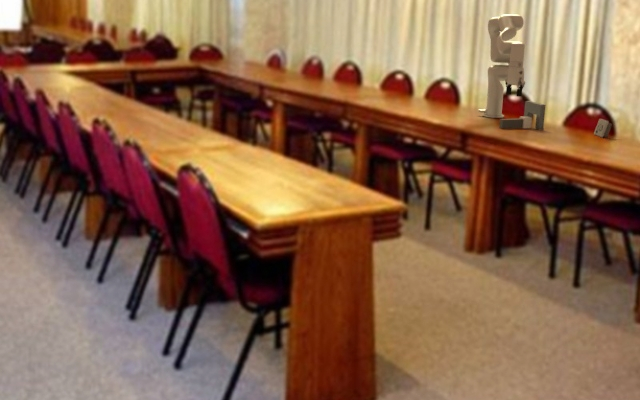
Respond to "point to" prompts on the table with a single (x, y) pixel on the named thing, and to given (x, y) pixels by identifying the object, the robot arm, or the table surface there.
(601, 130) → the electrical switch
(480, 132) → the table surface
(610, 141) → the table surface
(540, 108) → the grey arch block
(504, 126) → the plug
